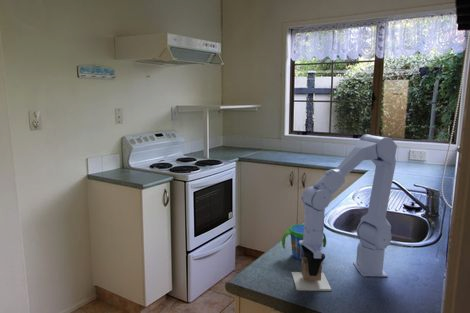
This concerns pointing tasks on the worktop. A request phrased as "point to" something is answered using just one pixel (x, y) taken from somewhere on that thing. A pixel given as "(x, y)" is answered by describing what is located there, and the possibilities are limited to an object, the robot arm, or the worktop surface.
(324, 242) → the snack cup
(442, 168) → the worktop surface
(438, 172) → the worktop surface
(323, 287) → the cream tile
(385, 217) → the robot arm
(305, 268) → the walnut block
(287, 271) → the worktop surface
